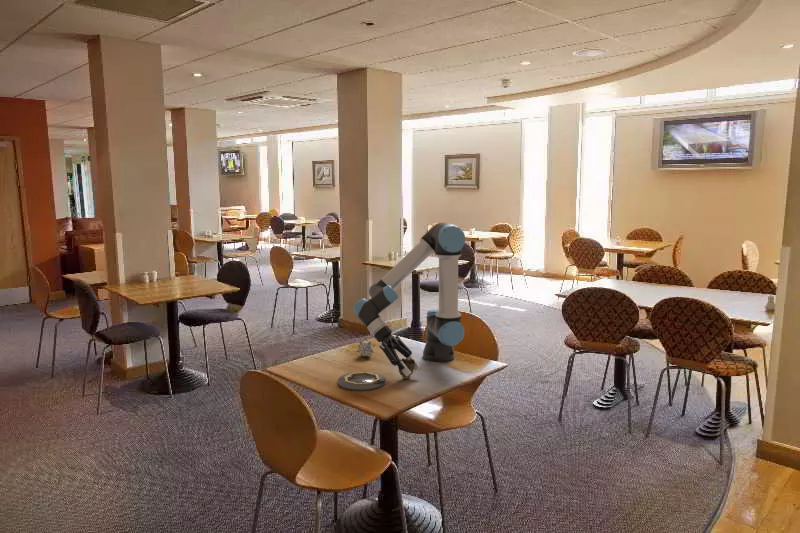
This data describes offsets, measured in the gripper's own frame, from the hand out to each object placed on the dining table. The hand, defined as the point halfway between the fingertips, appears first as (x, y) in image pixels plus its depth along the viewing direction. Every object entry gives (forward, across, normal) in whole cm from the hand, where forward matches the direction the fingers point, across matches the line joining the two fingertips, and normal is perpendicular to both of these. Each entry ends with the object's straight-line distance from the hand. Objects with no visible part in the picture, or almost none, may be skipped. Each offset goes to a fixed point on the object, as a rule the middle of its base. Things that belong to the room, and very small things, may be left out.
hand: (413, 371), depth 247 cm
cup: (0, 0, -5) cm, 5 cm away
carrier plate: (-10, +12, -15) cm, 22 cm away
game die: (-22, -19, -28) cm, 40 cm away
